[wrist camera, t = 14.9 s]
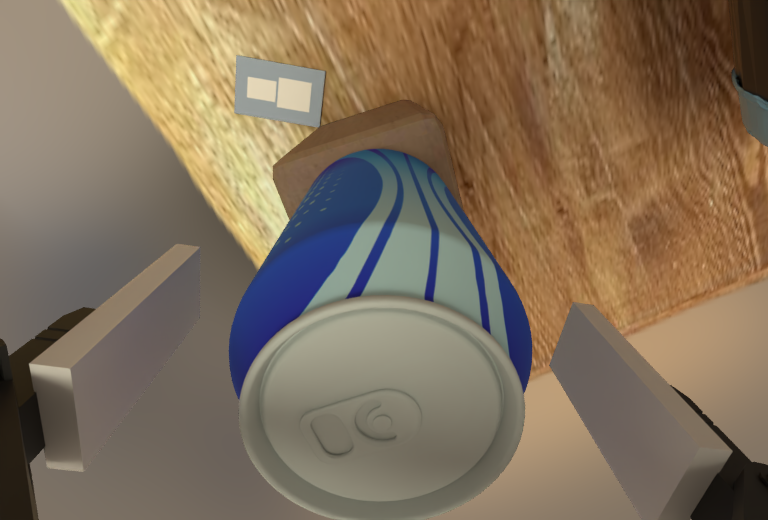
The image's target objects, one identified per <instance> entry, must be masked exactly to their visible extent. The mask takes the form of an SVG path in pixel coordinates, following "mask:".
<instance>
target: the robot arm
mask: <svg viewBox="0 0 768 520" xmlns="http://www.w3.org/2000/svg"><path fill="white" fill-rule="evenodd" d="M728 2H729V13H730V25H731V36H732V48H733V59H734V69H733V70H732V82H733V85H734V87H735V88H736V90H737V91H738V95H739V101H740V108H741V115H742V121H743V124H744V126H745V128H746V130H747V131H748V133H749V134H751V135H752V136H753V137H755V138H756V139H757V140H759V142H760V143H762V144H763V145H765V146H767V147H768V0H728ZM199 318H200V247H195V246H189V245H181V244H176V245H175V246H174V247H172V248H171V249H170V250H169V251H167V252H166V253H165V254H164V255H163V256H161V257H160V258H159V259H157V260H156V261H155V262H154V263H153V264H151V265H150V266H149V267H148V268H146V269H145V270H144V271H143V272H142V273H140V274H139V275H138V276H137V277H135V278H134V279H133V280H132V281H130V282H129V283H128V284H127V285H125V286H124V287H123V288H122V289H121V290H119V291H118V292H117V293H116V294H114V295H113V296H112V297H111V298H109V299H108V300H107V301H106V302H105V303H103V304H102V305H101V306H100V307H98V308H97V309H92V308H85V307H83V308H81V309H79V310H76V311H74V312H71V313H69V314H66V315H64V316H62V317H61V318H60V319H58V320H57V321H56V322H54V323H53V324H51V325H50V326H49V327H48V329H47V330H43V331H42V332H41V333H39V334H38V335H37V336H36V337H35V339H31V340H30V341H29V342H27V343H26V344H25V345H23V346H22V347H21V348H19V349H18V350H17V351H15V352H14V353H13V354H11V355H10V356H8V351H7V346H6V344H5V342H4V341H3V340H2V339H0V520H39V519H38V513H37V506H36V500H35V494H34V487H33V480H32V474H31V469H30V462H31V461H32V460H33V459H34V458H35V457H36V456H37V455H38V454H39V453H40V451H41V450H42V449H43V448H44V452H45V458H46V463H47V468H53V469H62V470H71V471H81V472H84V471H85V470H86V468H87V467H88V466H89V464H90V463H91V462H92V460H93V459H94V458H95V456H96V455H97V454H98V452H99V451H100V450H101V448H102V447H103V446H104V444H105V443H106V442H107V440H108V439H109V438H110V436H111V435H112V434H113V432H114V431H115V430H116V428H117V427H118V426H119V424H120V423H121V422H122V421H123V419H124V418H125V417H126V415H127V414H128V413H129V411H130V410H131V409H132V407H133V406H134V405H135V403H136V402H137V401H138V399H139V398H140V397H141V395H142V394H143V393H144V391H145V390H146V389H147V387H148V386H149V385H150V383H151V382H152V381H153V379H154V378H155V377H156V375H157V374H158V373H159V371H160V370H161V369H162V367H163V366H164V365H165V363H166V362H167V361H168V359H169V358H170V357H171V355H172V354H173V353H174V351H175V350H176V349H177V348H178V346H179V345H180V344H181V342H182V341H183V340H184V338H185V337H186V335H187V334H188V333H189V332H190V330H191V329H192V328H193V326H194V325H195V324H196V322H197V321H198V320H199ZM549 366H550V367H551V369H552V371H553V372H554V374H555V376H556V377H557V379H558V380H559V382H560V383H561V386H562V387H563V389H564V391H565V392H566V394H567V396H568V397H569V399H570V401H571V402H572V404H573V405H574V407H575V409H576V411H577V412H578V414H579V416H580V417H581V419H582V421H583V422H584V424H585V426H586V427H587V429H588V431H589V433H590V434H591V436H592V438H593V439H594V441H595V443H596V444H597V446H598V448H599V449H600V451H601V453H602V454H603V456H604V458H605V459H606V461H607V463H608V464H609V466H610V468H611V469H612V471H613V473H614V474H615V476H616V478H617V479H618V481H619V483H620V484H621V486H622V488H623V489H624V491H625V492H626V494H627V496H628V498H629V499H630V501H631V502H632V504H633V506H634V508H635V510H636V511H637V513H638V514H639V516H640V518H641V519H642V520H690V519H692V520H768V465H766V464H762V463H757V462H751V461H750V460H749V459H748V458H747V457H746V456H745V455H744V454H743V453H742V452H741V451H740V449H738V447H737V446H735V444H734V443H733V442H732V441H731V440H730V439H729V438H728V437H727V436H726V435H725V434H724V433H723V432H722V431H721V430H720V429H719V428H718V427H717V426H715V425H713V422H712V421H711V420H710V419H709V418H708V417H707V416H706V415H705V414H702V411H701V410H700V409H699V408H698V406H697V405H695V403H693V401H692V400H691V399H690V398H688V397H687V396H686V395H684V394H683V393H681V392H680V391H678V390H677V389H676V388H674V387H672V386H671V385H669V384H668V383H667V382H666V381H665V380H664V379H663V378H662V377H661V376H660V375H659V373H658V372H657V371H655V369H654V368H653V367H652V366H651V365H650V364H649V363H648V362H647V361H646V360H645V359H644V358H643V357H642V356H641V355H640V354H639V353H638V351H637V350H636V349H635V348H634V347H633V346H632V345H631V344H630V343H629V342H628V341H627V340H626V339H625V338H624V337H623V336H622V335H621V334H620V333H619V331H618V330H617V329H616V328H615V327H614V326H613V325H612V324H611V323H610V322H609V321H608V320H607V319H606V318H605V317H604V316H603V315H602V314H601V313H600V312H599V310H598V309H597V308H596V307H595V306H594V305H589V304H582V303H575V302H573V304H572V307H571V309H570V312H569V314H568V317H567V320H566V322H565V325H564V328H563V330H562V333H561V336H560V338H559V341H558V344H557V346H556V349H555V352H554V354H553V357H552V360H551V362H550V365H549Z"/></svg>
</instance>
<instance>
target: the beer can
mask: <svg viewBox="0 0 768 520" xmlns="http://www.w3.org/2000/svg"><path fill="white" fill-rule="evenodd" d="M229 360H230V361H229V362H230V371H231V377H232V381H233V385H234V388H235V391H236V394H237V396H238V399H239V410H238V411H239V413H238V414H239V426H240V432H241V436H242V440H243V443H244V446H245V449H246V451H247V453H248V455H249V457H250V459H251V461H252V462H253V464H254V466H255V467H256V468H257V470H258V471H259V472H260V474H261V475H262V476H263V477H264V478H265V480H266V481H267V482H268V483H269V484H270V485H272V486H273V487H274V488H275V489H276V490H277V491H278V492H280V493H281V494H282V495H283V496H285V497H286V498H288V499H289V500H291V501H293V502H294V503H296V504H297V505H299V506H302V507H303V508H305V509H307V510H310V511H312V512H314V513H317V514H319V515H322V516H325V517H328V518H331V519H336V520H425V519H429V518H431V517H435V516H438V515H441V514H443V513H446V512H448V511H451V510H453V509H455V508H457V507H459V506H461V505H463V504H464V503H466V502H468V501H470V500H471V499H473V498H474V497H476V496H477V495H479V494H480V493H481V492H482V491H484V490H485V489H486V488H487V487H489V486H490V484H492V483H493V482H494V481H495V480H496V479H497V478H498V477H499V475H500V474H501V473H502V472H503V471H504V469H505V468H506V466H507V465H508V464H509V462H510V461H511V459H512V457H513V455H514V453H515V451H516V449H517V447H518V444H519V442H520V439H521V435H522V431H523V426H524V419H525V402H524V392H525V390H526V387H527V384H528V380H529V376H530V370H531V363H532V338H531V331H530V326H529V321H528V318H527V315H526V312H525V309H524V307H523V304H522V302H521V300H520V298H519V296H518V294H517V291H516V290H515V288H514V287H513V285H512V284H511V282H510V280H509V279H508V277H507V276H506V274H505V273H504V271H503V270H502V268H501V267H500V265H499V264H498V262H497V261H496V259H495V258H494V257H493V255H492V254H491V252H490V251H489V249H488V248H487V246H486V245H485V243H484V242H483V240H482V239H481V237H480V236H479V234H478V233H477V231H476V230H475V228H474V227H473V225H472V224H471V222H470V221H469V219H468V218H467V216H466V215H465V213H464V212H463V210H462V209H461V207H460V206H459V204H458V203H457V201H456V200H455V198H454V197H453V195H452V194H451V192H450V191H449V189H448V188H447V186H446V185H445V183H444V182H443V180H442V179H441V178H440V177H439V175H438V174H437V173H436V172H435V171H434V170H433V169H432V168H430V167H429V166H428V165H427V164H425V163H424V162H422V161H421V160H419V159H417V158H415V157H413V156H411V155H409V154H406V153H403V152H400V151H395V150H390V149H368V150H362V151H357V152H354V153H351V154H349V155H346V156H344V157H342V158H340V159H338V160H337V161H335V162H334V163H332V164H331V165H329V166H328V167H327V168H326V169H325V170H324V171H323V172H322V173H321V174H320V175H319V176H318V177H317V178H316V180H315V181H314V182H313V184H312V185H311V187H310V189H309V190H308V192H307V193H306V195H305V197H304V198H303V200H302V202H301V203H300V205H299V206H298V208H297V210H296V211H295V213H294V214H293V216H292V218H291V219H290V221H289V222H288V224H287V226H286V227H285V229H284V230H283V232H282V234H281V235H280V237H279V239H278V240H277V242H276V243H275V245H274V247H273V248H272V250H271V251H270V253H269V255H268V256H267V258H266V259H265V261H264V263H263V264H262V266H261V267H260V269H259V271H258V272H257V274H256V276H255V277H254V279H253V280H252V282H251V284H250V285H249V287H248V289H247V290H246V292H245V294H244V296H243V297H242V300H241V302H240V304H239V306H238V309H237V311H236V314H235V318H234V321H233V325H232V328H231V334H230V341H229Z"/></svg>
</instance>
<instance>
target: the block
mask: <svg viewBox="0 0 768 520" xmlns="http://www.w3.org/2000/svg"><path fill="white" fill-rule="evenodd" d="M368 149H390V150H395V151H400V152H403V153H406V154H409V155H411V156H413V157H415V158H417V159H419V160H421V161H422V162H424V163H425V164H427V165H428V166H429V167H430V168H432V169H433V170H434V171H435V172H436V173H437V174H438V175H439V177H440V178H441V179H442V180H443V182H444V183H445V185H446V186H447V188H448V189H449V191H450V192H451V194H452V195H453V197H454V198H455V200H456V201H457V203H458V204H459V206H460V207H461V209H462V210H463V206H462V202H461V198H460V194H459V190H458V185H457V181H456V177H455V173H454V169H453V165H452V161H451V156H450V152H449V148H448V144H447V140H446V136H445V132H444V128H443V125H442V124H441V122H440V121H439V120H438V118H437V117H436V116H435V114H433V113H431V112H430V111H428V110H426V109H424V108H422V107H421V106H419V105H417V104H415V103H414V102H412V101H408V100H400V101H397V102H394V103H391V104H388V105H385V106H382V107H379V108H376V109H372V110H369V111H366V112H363V113H360V114H357V115H354V116H351V117H348V118H345V119H342V120H339V121H335V122H332V123H329V124H326V125H323V126H320V127H319V128H318V129H317V130H316V131H314V132H313V133H312V134H311V135H309V136H308V137H307V138H306V139H304V140H303V141H302V142H301V143H300V144H298V145H297V146H296V147H295V148H293V149H292V150H291V151H290V152H288V153H287V154H286V155H285V156H284V157H282V158H281V159H280V160H279V161H278V162H277V163H276V164H275V165H273V180H274V183H275V185H276V188H277V190H278V193H279V195H280V198H281V200H282V203H283V205H284V208H285V210H286V213H287V215H288V217H289V220H290V219H291V218H292V216H293V214H294V213H295V211H296V210H297V208H298V206H299V205H300V203H301V202H302V200H303V198H304V197H305V195H306V193H307V192H308V190H309V189H310V187H311V185H312V184H313V182H314V181H315V180H316V178H317V177H318V176H319V175H320V174H321V173H322V172H323V171H324V170H325V169H326V168H327V167H328V166H329V165H331V164H332V163H334V162H335V161H337V160H338V159H340V158H342V157H344V156H346V155H349V154H351V153H354V152H357V151H362V150H368ZM463 212H464V210H463Z"/></svg>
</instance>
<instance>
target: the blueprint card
mask: <svg viewBox="0 0 768 520" xmlns="http://www.w3.org/2000/svg"><path fill="white" fill-rule="evenodd" d="M325 73H326V71H321V70H315V69H310V68H304V67H299V66H293V65H288V64H282V63H276V62H271V61H265V60H260V59H254V58H249V57H243V56H238V55H237V56H236V85H235V113H237V114H243V115H249V116H254V117H260V118H266V119H272V120H278V121H284V122H290V123H296V124H302V125H307V126H313V127H320V120H321V111H322V102H323V92H324V83H325Z"/></svg>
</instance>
